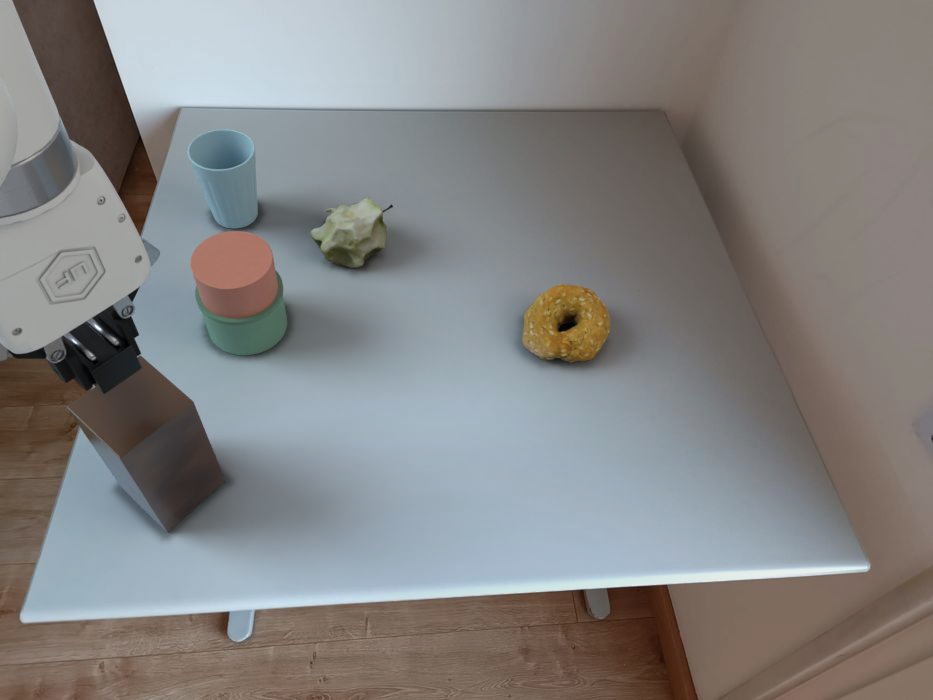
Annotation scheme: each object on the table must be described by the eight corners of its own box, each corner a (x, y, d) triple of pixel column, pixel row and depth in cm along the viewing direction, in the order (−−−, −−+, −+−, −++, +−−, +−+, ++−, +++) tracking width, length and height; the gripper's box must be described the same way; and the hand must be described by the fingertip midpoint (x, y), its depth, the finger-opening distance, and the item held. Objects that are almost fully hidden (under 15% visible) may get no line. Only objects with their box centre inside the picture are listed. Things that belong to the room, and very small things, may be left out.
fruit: (386, 231, 95) (398, 191, 88) (374, 287, 90) (386, 249, 83) (318, 213, 93) (324, 170, 87) (302, 269, 89) (307, 228, 82)
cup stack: (244, 371, 79) (226, 307, 70) (189, 326, 81) (165, 259, 73) (305, 323, 83) (296, 258, 74) (252, 282, 86) (237, 215, 77)
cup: (210, 240, 89) (193, 175, 81) (200, 200, 93) (182, 134, 85) (271, 228, 92) (260, 163, 83) (258, 190, 96) (246, 124, 87)
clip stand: (167, 532, 67) (119, 458, 55) (121, 487, 69) (65, 406, 57) (226, 481, 71) (193, 401, 59) (180, 440, 73) (140, 354, 61)
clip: (104, 394, 51) (89, 367, 48) (62, 356, 53) (45, 328, 50) (142, 368, 53) (130, 340, 50) (101, 332, 54) (87, 303, 52)
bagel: (501, 323, 86) (507, 297, 82) (573, 291, 90) (581, 265, 86) (550, 383, 81) (558, 359, 77) (623, 346, 85) (634, 321, 82)
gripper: (-133, 276, 33) (26, 466, 47) (170, 125, 41) (225, 326, 56) (-210, 197, 35) (-36, 402, 49) (91, 70, 43) (164, 276, 58)
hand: (101, 360), depth 52 cm, fingers closed on clip, 3 cm apart
